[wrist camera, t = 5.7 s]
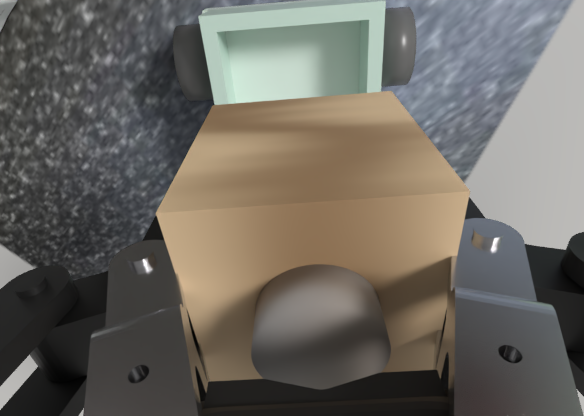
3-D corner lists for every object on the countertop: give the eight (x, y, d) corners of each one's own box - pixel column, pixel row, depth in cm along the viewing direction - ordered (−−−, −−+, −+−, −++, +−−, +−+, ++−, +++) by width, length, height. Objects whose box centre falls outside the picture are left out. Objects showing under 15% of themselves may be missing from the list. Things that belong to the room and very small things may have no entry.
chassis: (225, 222, 30) (214, 272, 25) (182, 7, 22) (152, 20, 17) (384, 211, 30) (404, 260, 25) (400, -11, 22) (433, -3, 17)
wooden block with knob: (239, 244, 13) (206, 436, 8) (212, 105, 11) (135, 253, 5) (382, 235, 13) (447, 425, 8) (391, 90, 11) (499, 228, 5)
